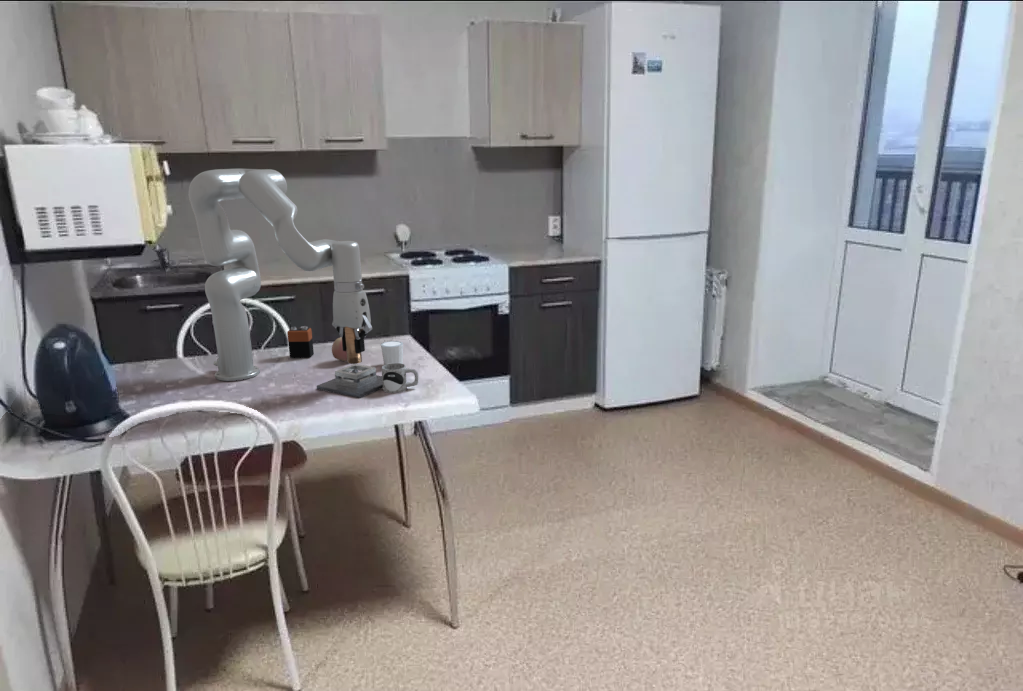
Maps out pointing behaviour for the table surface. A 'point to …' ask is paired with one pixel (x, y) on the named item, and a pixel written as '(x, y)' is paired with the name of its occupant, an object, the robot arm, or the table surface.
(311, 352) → the battery
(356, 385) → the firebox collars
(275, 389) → the table surface
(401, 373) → the mug
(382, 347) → the shot glass
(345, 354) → the apple
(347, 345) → the tube
